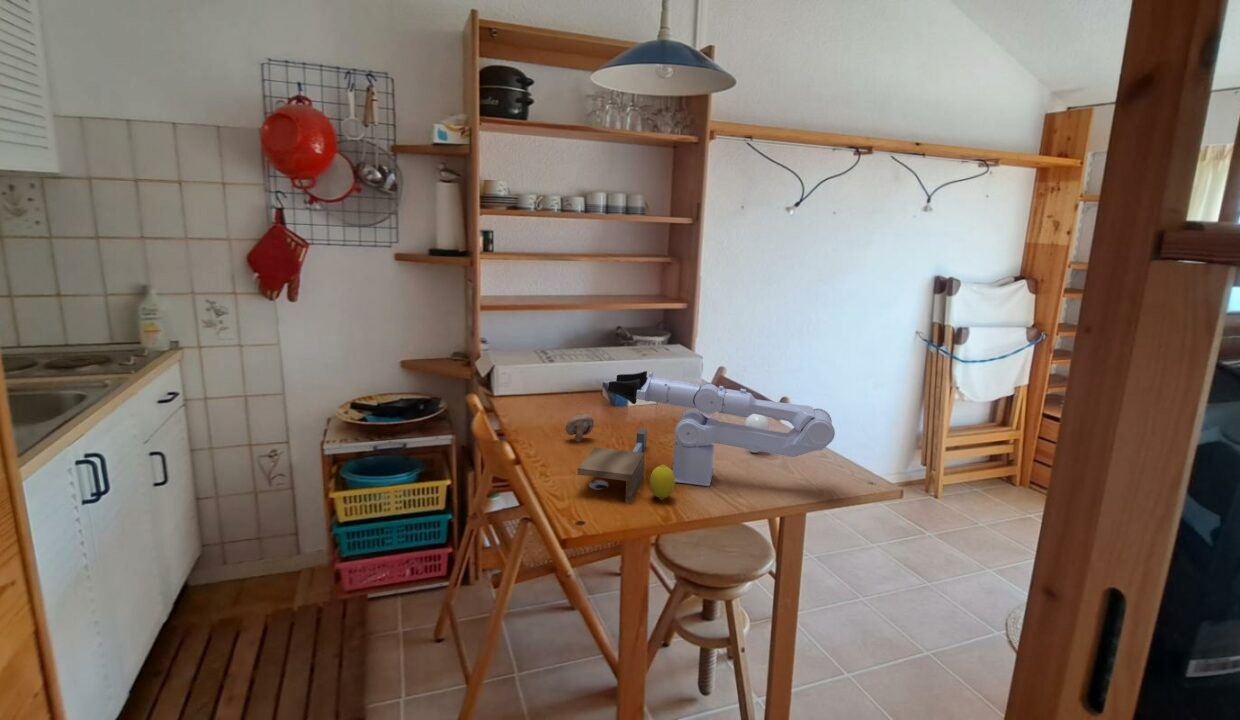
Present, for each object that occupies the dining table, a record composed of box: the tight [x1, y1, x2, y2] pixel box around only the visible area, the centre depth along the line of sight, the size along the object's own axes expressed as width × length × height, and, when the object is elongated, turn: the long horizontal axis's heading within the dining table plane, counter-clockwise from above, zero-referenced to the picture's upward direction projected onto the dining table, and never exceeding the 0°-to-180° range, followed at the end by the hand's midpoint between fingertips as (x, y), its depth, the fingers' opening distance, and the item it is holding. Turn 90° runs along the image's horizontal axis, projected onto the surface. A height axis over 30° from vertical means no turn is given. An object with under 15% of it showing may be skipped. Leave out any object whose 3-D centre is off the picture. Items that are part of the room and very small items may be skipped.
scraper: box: [632, 428, 648, 453], centre depth 162 cm, size 2×20×5 cm, turn 167°
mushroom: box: [565, 413, 595, 442], centre depth 174 cm, size 8×6×8 cm
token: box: [588, 479, 609, 491], centre depth 146 cm, size 4×4×1 cm
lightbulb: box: [744, 414, 770, 454], centre depth 170 cm, size 6×6×11 cm
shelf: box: [577, 446, 645, 504], centre depth 144 cm, size 12×14×6 cm
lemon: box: [649, 464, 676, 501], centre depth 139 cm, size 6×6×8 cm
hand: (612, 382), depth 152 cm, fingers open, 7 cm apart
